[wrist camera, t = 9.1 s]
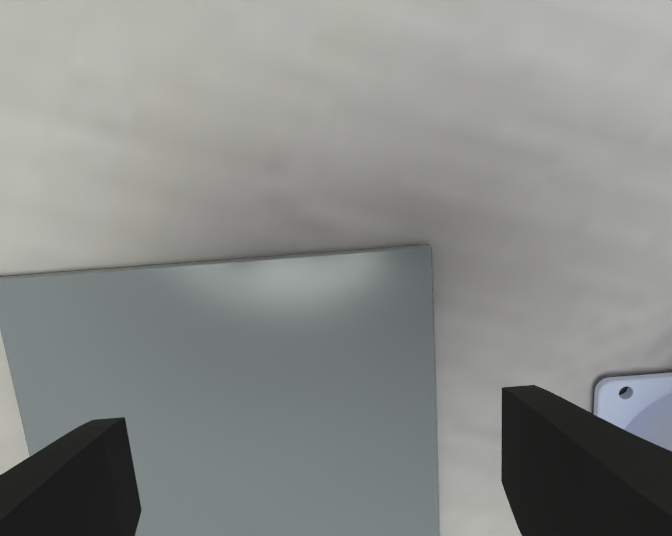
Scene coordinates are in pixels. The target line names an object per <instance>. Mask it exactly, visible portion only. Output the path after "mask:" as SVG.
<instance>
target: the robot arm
mask: <svg viewBox="0 0 672 536" xmlns="http://www.w3.org/2000/svg"><path fill="white" fill-rule="evenodd" d="M626 386H627V387H628V388H627V391H626V392H625V393H624V394H621V395H619V392H620V390H621V389H622V388H623V387H626ZM502 484H503V487H504V490H505V493H506V495H507V498H508V501H509V504H510V507H511V509H512V512H513V515H514V517H515V520H516V523H517V525H518V528H519V530H520V532H521V534H522V536H672V373H659V374H646V375H634V376H621V377H608V378H605V379H602V380H601V381H599V382H598V384H597V385H596V388H595V394H594V414H592V413H590V412H588V411H586V410H584V409H582V408H580V407H579V406H577V405H575V404H573V403H571V402H569V401H567V400H565V399H563V398H561V397H559V396H557V395H555V394H553V393H551V392H549V391H547V390H545V389H542V388H540V387H537V386H535V385H530V386H517V387H504V388H502ZM141 511H142V509H141V504H140V498H139V493H138V487H137V482H136V476H135V471H134V465H133V460H132V454H131V449H130V443H129V437H128V432H127V426H126V421H125V417H121V418H108V419H96V420H91V421H89V422H87V423H85V424H83V425H81V426H79V427H77V428H76V429H74V430H72V431H70V432H69V433H67V434H65V435H64V436H62V437H60V438H59V439H57V440H56V441H54V442H52V443H51V444H49V445H48V446H46V447H45V448H43V449H41V450H40V451H38V452H37V453H35V454H33V455H32V456H30V457H29V458H27V459H26V460H24V461H22V462H21V463H19V464H18V465H16V466H14V467H13V468H11V469H10V470H8V471H6V472H5V473H3V474H2V475H0V536H135V533H136V530H137V526H138V522H139V518H140V515H141Z"/></svg>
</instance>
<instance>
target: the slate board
mask: <svg viewBox="0 0 672 536" xmlns="http://www.w3.org/2000/svg"><path fill="white" fill-rule="evenodd" d="M0 330H1V334H2V338H3V343H4V347H5V351H6V355H7V360H8V364H9V368H10V373H11V377H12V381H13V386H14V390H15V394H16V399H17V403H18V407H19V411H20V416H21V420H22V424H23V429H24V433H25V437H26V442H27V446H28V450H29V455H30V456H32V455H33V454H35V453H37V452H38V451H40V450H41V449H43V448H45V447H46V446H48V445H49V444H51V443H52V442H54V441H56V440H57V439H59V438H60V437H62V436H64V435H65V434H67V433H69V432H70V431H72V430H74V429H76V428H77V427H79V426H81V425H83V424H85V423H87V422H89V421H91V420H96V419H108V418H121V417H125V421H126V426H127V432H128V437H129V443H130V449H131V454H132V460H133V465H134V471H135V476H136V482H137V487H138V493H139V498H140V504H141V509H142V511H141V515H140V518H139V522H138V526H137V530H136V533H135V536H439V501H438V465H437V429H436V393H435V357H434V322H433V286H432V250H431V247H430V245H415V246H402V247H389V248H375V249H362V250H348V251H335V252H322V253H308V254H295V255H282V256H268V257H255V258H242V259H228V260H215V261H202V262H188V263H175V264H162V265H148V266H135V267H122V268H108V269H95V270H82V271H68V272H55V273H42V274H28V275H15V276H2V277H0Z"/></svg>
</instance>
